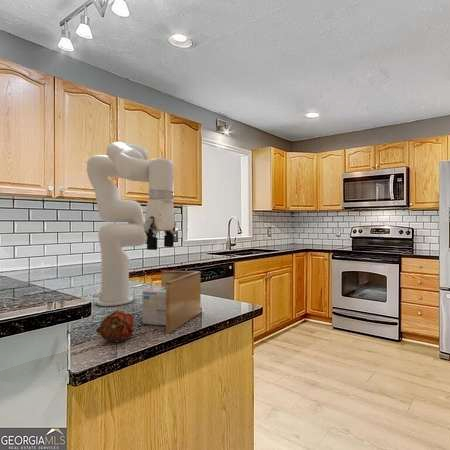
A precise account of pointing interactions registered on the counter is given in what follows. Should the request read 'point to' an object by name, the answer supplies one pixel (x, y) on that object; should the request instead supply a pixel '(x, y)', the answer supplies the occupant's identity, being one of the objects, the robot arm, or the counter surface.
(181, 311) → the shelf
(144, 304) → the light bulb box
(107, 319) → the dragon fruit
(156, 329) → the counter surface
